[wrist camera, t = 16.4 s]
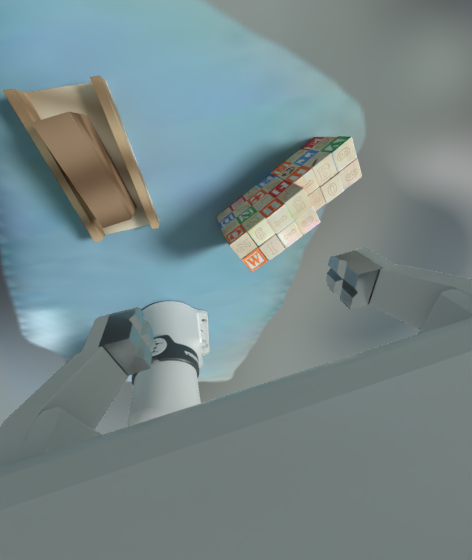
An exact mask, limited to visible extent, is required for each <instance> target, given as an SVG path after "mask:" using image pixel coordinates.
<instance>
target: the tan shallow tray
mask: <svg viewBox="0 0 472 560" xmlns="http://www.w3.org/2000/svg"><path fill="white" fill-rule="evenodd" d="M90 79H91V81H92V82H90V83H84V84H77V85H71V86H64V87H58V88H51V89H45V90H38V91H32V92H22V91H19V90H15V89H8V90H3V92H4V94H5V95H6V97H7V99H8V100H9V102H10V104H11V105H12V107H13V109H14V110H15V112H16V113H17V115H18V117H19V118H20V120H21V122H22V123H23V125H24V127H25V128H26V130H27V132H28V133H29V135H30V136H31V138H32V140H33V141H34V143H35V145H36V146H37V148H38V150H39V151H40V153H41V155H42V156H43V158H44V159H45V161H46V163H47V164H48V166H49V168H50V169H51V171H52V173H53V174H54V176H55V178H56V179H57V181H58V183H59V184H60V186H61V187H62V189H63V191H64V192H65V194H66V196H67V197H68V199H69V201H70V202H71V204H72V206H73V207H74V209H75V210H76V212H77V214H78V215H79V217H80V219H81V220H82V222H83V224H84V225H85V227H86V229H87V230H88V232H89V233H90V235H91V237H92V238H93V240H94V242H98V241H102V239H103V238H104V236H105V235H106V234H111V233H115V232H119V231H124V230H128V229H133V228H137V227H142V226H146V225H151V227H152V229H155V228H158V227H159V219H158V216H157V213H156V211H155V208H154V205H153V203H152V200H151V197H150V195H149V192H148V190H147V187H146V184H145V182H144V179H143V176H142V174H141V171H140V168H139V166H138V163H137V161H136V158H135V155H134V153H133V150H132V147H131V145H130V142H129V139H128V137H127V134H126V131H125V129H124V126H123V124H122V121H121V118H120V116H119V113H118V110H117V108H116V105H115V102H114V100H113V97H112V95H111V92H110V89H109V87H108V84H107V81H106V80H104V79H103V78H102V77H100V76H94V77H90ZM66 112H74V113H79V114H84V115H88V116H89V118H90V120H91V122H92V124H93V126H94V127H95V129H96V131H97V133H98V135H99V137H100V139H101V141H102V142H103V144H104V146H105V148H106V150H107V152H108V154H109V155H110V157H111V159H112V161H113V163H114V165H115V167H116V169H117V170H118V172H119V174H120V176H121V178H122V180H123V182H124V184H125V185H126V187H127V189H128V191H129V193H130V195H131V197H132V198H133V200H134V202H135V204H136V206H137V208H136V210H135V212H134V214H133V216H132V218H131V219H130V220H127V221H124V222H121V223H118V224H115V225H112V226H109V227H106V228H102V226H101V225H100V224H99V222H98V221H97V219H96V218H95V216H94V215H93V213H92V212H91V210H90V209H89V207H88V206H87V204H86V203H85V201H84V200H83V198H82V197H81V196H80V194H79V193H78V191H77V190H76V188H75V187H74V185H73V184H72V182H71V181H70V179H69V178H68V176H67V175H66V173H65V172H64V171H63V169H62V168H61V166H60V165H59V163H58V162H57V160H56V159H55V157H54V156H53V154H52V153H51V151H50V150H49V148H48V147H47V145H46V144H45V143H44V141H43V140H42V138H41V137H40V135H39V134H38V132H37V131H36V129H35V128H34V126H33V125H32V122H35V121H39V120H42V119H45V118H49V117H52V116H55V115H59V114H62V113H66Z"/></svg>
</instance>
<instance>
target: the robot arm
mask: <svg viewBox="0 0 472 560" xmlns="http://www.w3.org/2000/svg"><path fill="white" fill-rule="evenodd" d="M328 266H329V267H330V268H331V269H330V270H329V271H328V273H327V276H326V281H327V284H328V287H329V288H330V290H331V291H332V292H333V293H335V294H337V295H340V300H341V301H342V302H343V303H344V304H345V305H346V306H347V307H348V308H349V309H350V310H351V309H354V308H358V307H362V306H366V305H369V306H371V307H373V308H375V309H377V310H379V311H381V312H384V313H386V314H388V315H390V316H392V317H395V318H397V319H399V320H402V321H403V322H406V323H408V324H410V325H412V326H414V327H417V328H419V329H420V330H419V332H418V334H417V335H414V336H411V337H408V338H405V339H401V340H398V341H395V342H392V343H389V344H386V345H383V346H379V347H376V348H373V349H370V350H367V351H364V352H361V353H358V354H355V355H351V356H348V357H345V358H342V359H339V360H336V361H333V362H329V363H326V364H323V365H320V366H317V367H314V368H310V369H307V370H304V371H301V372H298V373H295V374H292V375H289V376H285V377H282V378H279V379H276V380H273V381H270V382H267V383H264V384H260V385H257V386H254V387H251V388H248V389H245V390H241V391H238V392H236V393H232V394H229V395H226V396H223V397H220V398H216V399H214V400H210V401H207V402H204V403H201V401H200V395H199V389H198V376H199V369H200V368H201V367H202V365H203V359H202V357H203V356H205V355H206V354H207V353H209V332H208V313H207V312H206V311H203V310H197V309H194V308H192V307H190V306H188V305H186V304H184V303H181V302H175V301H164V302H158V303H155V304H152V305H150V306H148V307H146V308H145V309H144V310H141V309H140V308H138V307H137V308H133V309H129V310H125V311H121V312H117V313H112V314H109V315H105V316H101V317H98V318H97V319H96V320H95V322H94V324H93V326H92V329H91V331H90V333H89V336H88V338H87V340H86V343H85V345H84V347H83V350H82V352H80V353H77V354H76V355H75V356H74V357H72V358H71V359H70V360H69V361H68V362H67V363H66V364H65V365H64V366H63V367H62V368H61V369H60V370H58V371H57V372H56V373H55V374H54V375H53V376H52V377H51V378H50V379H49V380H48V381H47V382H46V383H45V384H44V385H42V386H41V387H40V388H39V389H38V390H37V391H36V392H35V393H34V394H33V395H32V396H31V397H29V398H28V399H27V400H26V401H25V402H24V403H23V404H22V405H21V406H20V407H19V408H18V409H17V410H15V411H14V412H13V413H12V414H11V415H10V416H9V417H8V418H7V419H6V420H5V421H4V422H3V423H2V425H1V427H0V560H472V279H468V278H464V277H459V276H454V275H449V274H445V273H439V272H435V271H430V270H425V269H420V268H416V267H410V266H406V265H401V264H398V265H395V264H393V263H392V262H390V261H388V260H386V259H385V258H383V257H381V256H380V255H378V254H376V253H375V252H373V251H371V250H370V249H368V248H364V247H363V248H359V249H356V250H353V251H350V252H347V253H343V254H339V255H336V256H332V257H330V259H329V262H328ZM202 319H203V320H202ZM129 375H132V384H133V391H132V398H131V403H130V410H129V415H128V427H125V428H122V429H119V430H116V431H113V432H110V433H107V434H104V435H102V434H100V433H99V432H97V431H96V430H95V428H96V427H97V425H98V423H99V422H100V420H101V419H102V417H103V416H104V414H105V413H106V411H107V410H108V408H109V406H110V405H111V403H112V402H113V400H114V398H115V397H116V395H117V394H118V392H119V391H120V389H121V388H122V386H123V384H124V383H125V381H126V380H127V378H128V376H129Z"/></svg>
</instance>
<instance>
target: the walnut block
mask: <svg viewBox="0 0 472 560" xmlns="http://www.w3.org/2000/svg"><path fill="white" fill-rule="evenodd" d="M32 125H33V126H34V128H35V129H36V131H37V132H38V134H39V135H40V137H41V138H42V140H43V141H44V143H45V144H46V145H47V147H48V148H49V150H50V151H51V153H52V154H53V156H54V157H55V159H56V160H57V162H58V163H59V165H60V166H61V168H62V169H63V171H64V172H65V173H66V175H67V176H68V178H69V179H70V181H71V182H72V184H73V185H74V187H75V188H76V190H77V191H78V193H79V194H80V196H81V197H82V198H83V200H84V201H85V203H86V204H87V206H88V207H89V209H90V210H91V212H92V213H93V215H94V216H95V218H96V219H97V221H98V222H99V224H100V225H101V226H102V228H106V227H109V226H112V225H115V224H118V223H121V222H124V221H127V220H130V219H131V218H132V216H133V214H134V212H135V210H136V208H137V206H136V204H135V202H134V200H133V198H132V197H131V195H130V193H129V191H128V189H127V187H126V185H125V184H124V182H123V180H122V178H121V176H120V174H119V172H118V170H117V169H116V167H115V165H114V163H113V161H112V159H111V157H110V155H109V154H108V152H107V150H106V148H105V146H104V144H103V142H102V141H101V139H100V137H99V135H98V133H97V131H96V129H95V127H94V126H93V124H92V122H91V120H90V118H89V116H88V115H84V114H79V113H74V112H66V113H62V114H59V115H55V116H52V117H49V118H45V119H42V120H39V121H35V122H32Z"/></svg>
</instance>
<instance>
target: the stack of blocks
mask: <svg viewBox="0 0 472 560" xmlns="http://www.w3.org/2000/svg"><path fill="white" fill-rule="evenodd" d="M361 177H362V174H361V171H360V166H359V162H358V159H357V156H356V152H355V148H354V144H353V140H352V137H343V136H338V137H315V138H313V139H312V140H311V141H310V142H309V143H308V144H306V145H305V146H304V147H303V148H301V150H298V151H297V152H296V153H294V154H293V155H292V156H291V157H290V158H288V159H287V160H286V161H285V162H283V163H282V164H281V165H280V166H278V167H277V168H276V169H275V170H273V171H272V172H271V174H269V175H268V176H267V177H265V178H264V179H263V180H262V181H260V182H259V183H258V184H257V185H256V186H254V187H253V188H252V189H251V190H249V191H248V192H247V193H246V194H245V195H243V196H241V197H240V198H239V199H238V200H236V201H235V202H234V203H233V204H231V205H230V206H229V207H228V208H226V209H225V210H224V211H222V212H221V213H220V214H219V215H218V216H216V218H217V221H218V223H219V225H220V227H221V229H222V233H223V235H224V237H225V238H226V239H227V242H228V244H229V246H230V247H231V248H232V249H233V251H234V252H235V253H236V254H237V255H238V257H239V258H240V259H242V261H243V262H244V264H245V265H246V266H247V267H248V268H249V269H250V271H251V272H253V271H255V270H256V269H258V268H259V267H260V266H262V265H263V264H264V263H266V262H267V261H268V260H271V259H272V258H274V257H275V256H277V255H278V254H279V253H281V252H282V251H283V250H284V249H285V248H287V247H289V246H290V245H291V244H293V243H294V242H295V241H297V240H298V239H299V238H301V237H302V235H304V234H306V233H307V232H308V231H310V230H311V229H312V228H314V227H315V226H316V225H317V224H319V223H320V220H319V218H318V216H317V214H316V212H315V211H317V210H318V209H319V208H321V207H322V206H323V205H325V204H326V203H328V202H330V201H331V200H332V199H334V198H335V197H336V196H338V195H339V194H340V193H342V192H343V191H344V189H346V188H348V187H349V186H350V185H352V184H353V183H354V182H356V181H357V180H358V179H360V178H361Z"/></svg>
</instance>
